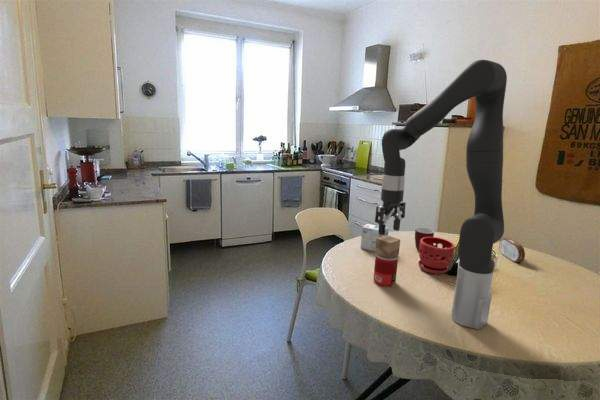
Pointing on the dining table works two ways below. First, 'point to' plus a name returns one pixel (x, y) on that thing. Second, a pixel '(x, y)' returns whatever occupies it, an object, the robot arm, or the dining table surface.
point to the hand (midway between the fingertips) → (389, 232)
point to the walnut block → (387, 246)
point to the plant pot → (435, 254)
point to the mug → (422, 235)
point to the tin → (512, 249)
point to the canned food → (385, 271)
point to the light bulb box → (370, 236)
